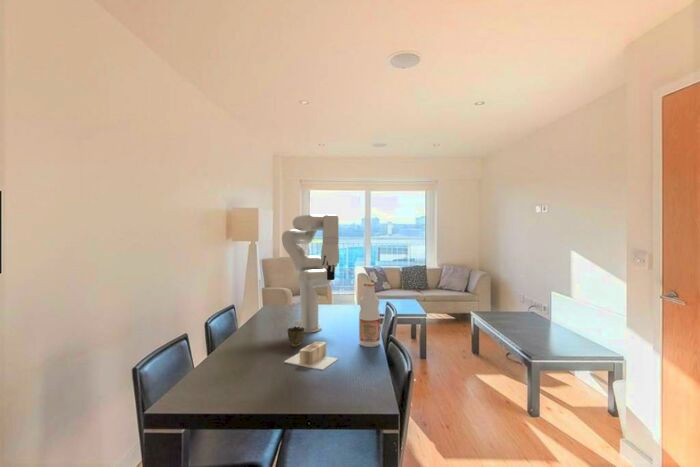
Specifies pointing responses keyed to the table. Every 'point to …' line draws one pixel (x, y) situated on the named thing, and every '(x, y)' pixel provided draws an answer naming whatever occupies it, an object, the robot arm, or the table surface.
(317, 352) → the maple block
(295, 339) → the cup
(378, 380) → the table surface
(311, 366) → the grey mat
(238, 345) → the table surface
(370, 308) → the fruit juice
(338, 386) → the table surface
